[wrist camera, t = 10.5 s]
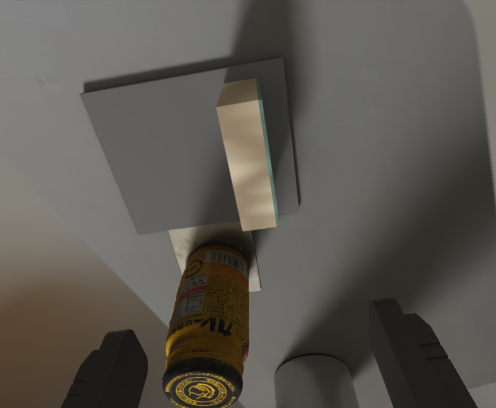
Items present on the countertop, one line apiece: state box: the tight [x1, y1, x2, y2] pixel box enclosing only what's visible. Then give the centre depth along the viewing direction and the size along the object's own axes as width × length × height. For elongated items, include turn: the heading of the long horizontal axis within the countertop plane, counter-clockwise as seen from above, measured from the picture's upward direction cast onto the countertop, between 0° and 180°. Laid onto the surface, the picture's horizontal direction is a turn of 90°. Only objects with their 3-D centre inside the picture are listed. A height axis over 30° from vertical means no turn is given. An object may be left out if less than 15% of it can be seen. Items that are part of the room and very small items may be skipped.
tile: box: [216, 78, 280, 231], centre depth 22 cm, size 2×6×8 cm
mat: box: [80, 57, 299, 234], centre depth 25 cm, size 12×14×1 cm
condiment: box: [162, 221, 261, 408], centre depth 26 cm, size 7×8×12 cm
